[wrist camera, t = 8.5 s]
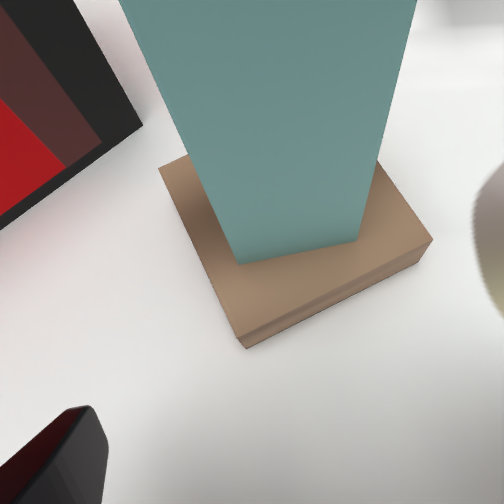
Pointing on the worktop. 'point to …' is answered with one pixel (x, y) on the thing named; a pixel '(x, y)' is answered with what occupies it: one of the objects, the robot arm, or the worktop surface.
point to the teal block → (278, 108)
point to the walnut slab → (296, 257)
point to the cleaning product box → (53, 101)
